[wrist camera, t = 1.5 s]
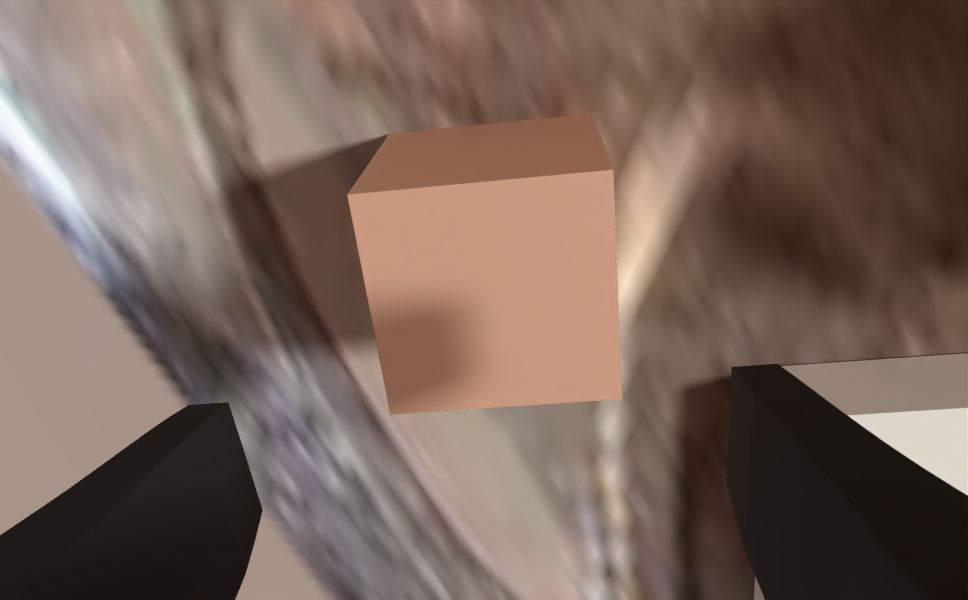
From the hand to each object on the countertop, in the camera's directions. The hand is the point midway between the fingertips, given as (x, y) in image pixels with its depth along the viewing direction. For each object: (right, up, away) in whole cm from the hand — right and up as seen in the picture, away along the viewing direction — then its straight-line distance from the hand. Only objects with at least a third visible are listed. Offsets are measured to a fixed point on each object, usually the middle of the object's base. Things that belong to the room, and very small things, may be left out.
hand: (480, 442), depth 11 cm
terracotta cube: (0, +4, +9) cm, 10 cm away
